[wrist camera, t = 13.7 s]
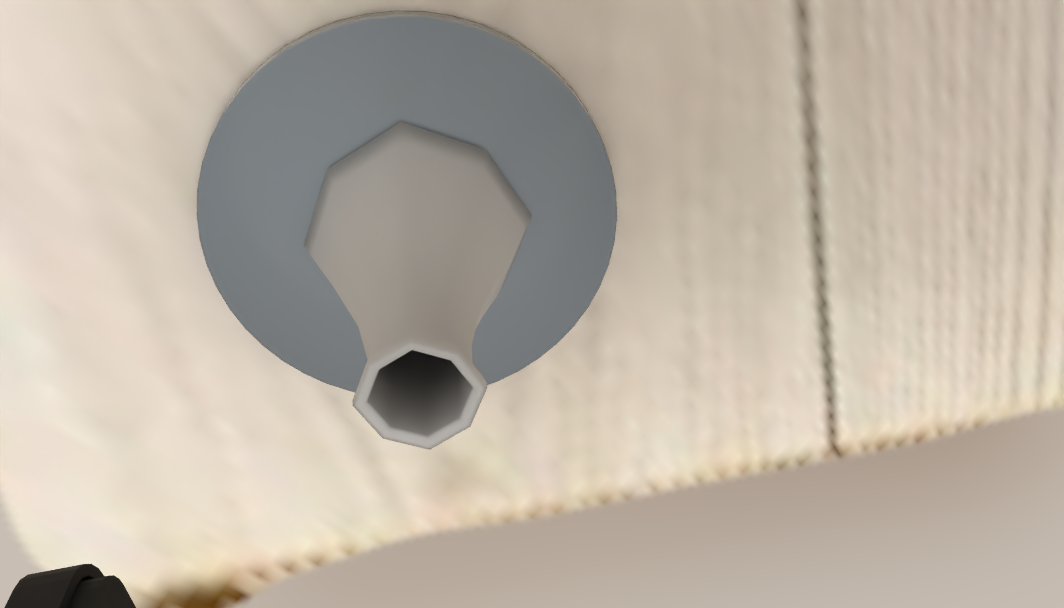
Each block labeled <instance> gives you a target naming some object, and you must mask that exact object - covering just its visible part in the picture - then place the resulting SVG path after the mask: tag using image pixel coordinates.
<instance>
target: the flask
mask: <svg viewBox="0 0 1064 608" xmlns="http://www.w3.org/2000/svg"><path fill="white" fill-rule="evenodd" d="M531 218H532V215H531V214H530V213H529V211H528V210H527V208H526V207H525V205H524V204H523V202H522V201H521V200H520V198H519V197H518V195H517V194H516V192H515V191H514V190H513V188H512V187H511V185H510V184H509V182H508V181H507V180H506V178H505V177H504V175H503V174H502V172H501V171H500V169H499V168H498V167H497V165H496V164H495V162H494V161H493V159H492V158H491V157H490V155H489V154H488V152H487V151H486V150H485V149H482V148H479V147H476V146H473V145H470V144H467V143H464V142H461V141H458V140H455V139H452V138H449V137H446V136H443V135H440V134H437V133H434V132H431V131H428V130H425V129H422V128H419V127H416V126H413V125H410V124H406V123H403V122H399V123H398V124H396V125H395V126H393V127H392V128H390V129H388V130H387V131H385V132H384V133H382V134H381V135H379V136H378V137H376V138H375V139H373V140H372V141H370V142H368V143H367V144H365V145H364V146H362V147H361V148H359V149H358V150H356V151H355V152H353V153H352V154H350V155H348V156H347V157H345V158H344V159H342V160H341V161H339V162H338V163H336V164H335V165H333V166H332V167H330V168H328V169H327V172H326V175H325V179H324V182H323V185H322V188H321V192H320V195H319V198H318V201H317V205H316V208H315V211H314V214H313V217H312V221H311V224H310V227H309V230H308V234H307V237H306V240H305V243H304V246H305V248H306V249H307V251H308V252H309V254H310V255H311V257H312V258H313V260H314V261H315V262H316V264H317V265H318V267H319V268H320V269H321V271H322V272H323V273H324V275H325V276H326V278H327V279H328V280H329V282H330V283H331V284H332V286H333V287H334V289H335V290H336V292H337V293H338V295H339V297H340V298H341V300H342V301H343V303H344V305H345V306H346V308H347V309H348V311H349V313H350V314H351V316H352V317H353V319H354V321H355V322H356V324H357V325H358V327H359V331H360V334H361V338H362V341H363V345H364V349H365V352H366V356H367V363H366V365H365V368H364V371H363V374H362V376H361V379H360V382H359V385H358V388H357V390H356V393H355V396H354V399H353V406H354V407H355V408H356V410H357V411H358V412H359V413H360V414H361V415H362V416H363V417H364V418H365V419H366V420H367V422H368V423H369V424H370V425H371V426H372V427H373V428H374V429H375V430H376V431H377V432H378V434H379V435H380V436H381V437H382V438H384V439H388V440H392V441H396V442H401V443H405V444H409V445H413V446H417V447H421V448H425V449H431V448H433V447H435V446H437V445H438V444H440V443H442V442H444V441H445V440H447V439H449V438H451V437H452V436H454V435H456V434H458V433H459V432H461V431H463V430H465V429H466V428H468V427H470V426H471V423H472V421H473V419H474V416H475V414H476V412H477V409H478V407H479V405H480V403H481V400H482V398H483V396H484V393H485V391H486V389H487V382H486V380H485V378H484V377H483V376H482V374H481V373H480V372H479V371H478V369H477V368H476V367H475V366H474V364H473V360H472V342H473V338H474V334H475V330H476V327H477V326H478V324H479V322H480V320H481V318H482V317H483V315H484V314H485V313H486V311H487V310H488V308H489V307H490V305H491V304H492V303H493V301H494V300H495V298H496V297H497V295H498V294H499V292H500V290H501V289H502V287H503V284H504V282H505V280H506V277H507V275H508V272H509V270H510V268H511V265H512V263H513V260H514V258H515V256H516V253H517V251H518V249H519V246H520V244H521V241H522V239H523V237H524V234H525V232H526V229H527V227H528V225H529V222H530V220H531Z"/></svg>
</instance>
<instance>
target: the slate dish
mask: <svg viewBox="0 0 1064 608" xmlns="http://www.w3.org/2000/svg"><path fill="white" fill-rule="evenodd" d="M399 122H403V123H406V124H410V125H413V126H416V127H419V128H422V129H425V130H428V131H431V132H434V133H437V134H440V135H443V136H446V137H449V138H452V139H455V140H458V141H461V142H464V143H467V144H470V145H473V146H476V147H479V148H482V149H485V150H486V151H487V152H488V154H489V155H490V157H491V158H492V159H493V161H494V162H495V164H496V165H497V167H498V168H499V169H500V171H501V172H502V174H503V175H504V177H505V178H506V180H507V181H508V182H509V184H510V185H511V187H512V188H513V190H514V191H515V192H516V194H517V195H518V197H519V198H520V200H521V201H522V202H523V204H524V205H525V207H526V208H527V210H528V211H529V213H530V214H531V215H532V218H531V220H530V222H529V225H528V227H527V229H526V232H525V234H524V237H523V239H522V241H521V244H520V246H519V249H518V251H517V253H516V256H515V258H514V260H513V263H512V265H511V268H510V270H509V272H508V275H507V277H506V280H505V282H504V284H503V287H502V289H501V290H500V292H499V294H498V295H497V297H496V298H495V300H494V301H493V303H492V304H491V305H490V307H489V308H488V310H487V311H486V313H485V314H484V315H483V317H482V318H481V320H480V322H479V324H478V326H477V327H476V330H475V334H474V338H473V342H472V360H473V364H474V366H475V367H476V368H477V369H478V371H479V372H480V373H481V374H482V376H483V377H484V378H485V380H486V382H487V385H488V384H491V383H494V382H497V381H499V380H501V379H503V378H505V377H507V376H509V375H511V374H513V373H516V372H518V371H519V370H521V369H523V368H524V367H526V366H527V365H529V364H530V363H532V362H534V361H535V360H537V359H538V358H540V357H541V356H542V355H543V354H545V353H546V352H547V351H548V350H550V349H551V348H552V347H553V346H554V345H556V344H557V343H558V342H559V341H560V340H561V339H562V338H563V337H564V336H565V335H566V334H567V333H568V332H569V331H570V330H571V329H572V327H573V326H574V325H575V324H576V323H577V321H578V320H579V319H580V317H581V316H582V315H583V313H584V312H585V311H586V309H587V308H588V306H589V305H590V303H591V301H592V299H593V297H594V296H595V294H596V292H597V290H598V289H599V287H600V285H601V282H602V280H603V277H604V275H605V272H606V270H607V267H608V265H609V261H610V257H611V253H612V249H613V245H614V240H615V230H616V221H617V207H616V190H615V184H614V179H613V173H612V168H611V165H610V162H609V159H608V156H607V153H606V150H605V147H604V144H603V142H602V140H601V138H600V135H599V133H598V131H597V129H596V127H595V125H594V123H593V121H592V119H591V117H590V115H589V113H588V111H587V110H586V108H585V107H584V105H583V104H582V102H581V101H580V99H579V98H578V97H577V95H576V94H575V92H574V91H573V89H572V88H571V87H570V86H569V85H568V84H567V83H566V82H565V81H564V79H563V78H562V77H561V76H560V75H559V74H558V73H557V72H556V71H555V70H554V69H553V68H552V67H551V66H550V65H548V64H547V63H546V62H545V61H544V60H542V59H541V58H540V57H539V56H538V55H536V54H535V53H534V52H533V51H531V50H529V49H528V48H526V47H525V46H523V45H521V44H520V43H518V42H517V41H515V40H513V39H512V38H510V37H509V36H506V35H504V34H502V33H500V32H497V31H495V30H493V29H491V28H489V27H486V26H484V25H482V24H478V23H475V22H472V21H468V20H465V19H462V18H458V17H455V16H449V15H443V14H437V13H431V12H419V11H389V12H380V13H370V14H364V15H360V16H355V17H351V18H347V19H343V20H339V21H336V22H333V23H331V24H328V25H326V26H323V27H321V28H318V29H315V30H313V31H310V32H309V33H307V34H305V35H303V36H302V37H300V38H298V39H296V40H294V41H293V42H291V43H289V44H287V45H286V46H284V47H283V48H282V49H280V50H279V51H278V52H276V53H275V54H274V55H272V56H271V57H270V58H268V59H267V60H266V61H265V62H263V63H262V64H261V65H260V66H259V67H258V68H257V69H256V70H255V71H254V72H253V74H252V75H251V76H250V77H249V78H248V79H247V80H246V81H245V82H244V83H243V84H242V86H241V87H240V88H239V90H238V91H237V93H236V94H235V95H234V97H233V98H232V99H231V101H230V102H229V104H228V105H227V107H226V109H225V111H224V113H223V115H222V117H221V119H220V121H219V123H218V125H217V127H216V129H215V131H214V132H213V134H212V136H211V139H210V142H209V145H208V147H207V150H206V153H205V156H204V159H203V162H202V167H201V172H200V178H199V184H198V191H197V220H198V228H199V236H200V242H201V245H202V249H203V253H204V256H205V260H206V264H207V266H208V268H209V271H210V273H211V275H212V278H213V280H214V282H215V285H216V287H217V289H218V290H219V292H220V294H221V295H222V297H223V299H224V300H225V302H226V304H227V305H228V307H229V309H230V310H231V311H232V312H233V314H234V315H235V316H236V317H237V319H238V320H239V321H240V322H241V324H242V325H243V326H244V327H245V329H246V330H248V331H249V332H250V333H251V334H252V335H253V336H254V337H255V338H256V339H257V340H258V341H259V342H260V343H261V344H262V345H263V346H264V347H266V348H267V349H268V350H269V351H271V352H272V353H273V354H275V355H276V356H277V357H279V358H280V359H281V360H283V361H284V362H286V363H288V364H289V365H291V366H293V367H294V368H296V369H298V370H299V371H301V372H303V373H305V374H307V375H309V376H311V377H313V378H316V379H318V380H320V381H322V382H325V383H327V384H330V385H333V386H336V387H339V388H342V389H345V390H349V391H352V392H356V390H357V388H358V385H359V382H360V379H361V376H362V374H363V371H364V368H365V365H366V363H367V356H366V352H365V349H364V345H363V341H362V338H361V334H360V331H359V327H358V325H357V324H356V322H355V321H354V319H353V317H352V316H351V314H350V313H349V311H348V309H347V308H346V306H345V305H344V303H343V301H342V300H341V298H340V297H339V295H338V293H337V292H336V290H335V289H334V287H333V286H332V284H331V283H330V282H329V280H328V279H327V278H326V276H325V275H324V273H323V272H322V271H321V269H320V268H319V267H318V265H317V264H316V262H315V261H314V260H313V258H312V257H311V255H310V254H309V252H308V251H307V249H306V248H305V246H304V243H305V240H306V237H307V234H308V230H309V227H310V224H311V221H312V217H313V214H314V211H315V208H316V205H317V201H318V198H319V195H320V192H321V188H322V185H323V182H324V179H325V175H326V172H327V169H328V168H330V167H332V166H333V165H335V164H336V163H338V162H339V161H341V160H342V159H344V158H345V157H347V156H348V155H350V154H352V153H353V152H355V151H356V150H358V149H359V148H361V147H362V146H364V145H365V144H367V143H368V142H370V141H372V140H373V139H375V138H376V137H378V136H379V135H381V134H382V133H384V132H385V131H387V130H388V129H390V128H392V127H393V126H395V125H396V124H398V123H399Z"/></svg>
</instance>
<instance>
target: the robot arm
mask: <svg viewBox="0 0 1064 608" xmlns="http://www.w3.org/2000/svg"><path fill="white" fill-rule="evenodd" d="M5 608H136V607H135V605H134V603H133V601H132V599H131V598H130V596H129V594H128V592H127V590H126V588H125V587H124V585H123V583H122V582H121V581H120V579H119V578H117V577H115V576H104V575H103V574H102V572H101V571H100V570H99V568H97V567H95V566H94V565H92V564H83V565H77V566H72V567H67V568H61V569H56V570H51V571H45V572H40V573H35V574H30V575H27V576H25V577H24V578H22V579H21V580H20V581H19V583H18V584H17V585H16V587H15V588H14V590H13V592H12V594H11V596H10V598H9V600H8V602H7V604H6V606H5Z"/></svg>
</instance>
